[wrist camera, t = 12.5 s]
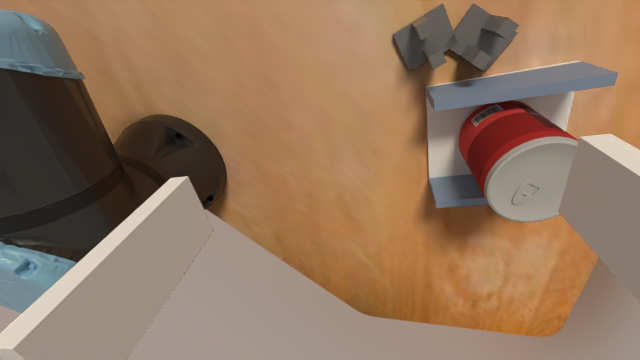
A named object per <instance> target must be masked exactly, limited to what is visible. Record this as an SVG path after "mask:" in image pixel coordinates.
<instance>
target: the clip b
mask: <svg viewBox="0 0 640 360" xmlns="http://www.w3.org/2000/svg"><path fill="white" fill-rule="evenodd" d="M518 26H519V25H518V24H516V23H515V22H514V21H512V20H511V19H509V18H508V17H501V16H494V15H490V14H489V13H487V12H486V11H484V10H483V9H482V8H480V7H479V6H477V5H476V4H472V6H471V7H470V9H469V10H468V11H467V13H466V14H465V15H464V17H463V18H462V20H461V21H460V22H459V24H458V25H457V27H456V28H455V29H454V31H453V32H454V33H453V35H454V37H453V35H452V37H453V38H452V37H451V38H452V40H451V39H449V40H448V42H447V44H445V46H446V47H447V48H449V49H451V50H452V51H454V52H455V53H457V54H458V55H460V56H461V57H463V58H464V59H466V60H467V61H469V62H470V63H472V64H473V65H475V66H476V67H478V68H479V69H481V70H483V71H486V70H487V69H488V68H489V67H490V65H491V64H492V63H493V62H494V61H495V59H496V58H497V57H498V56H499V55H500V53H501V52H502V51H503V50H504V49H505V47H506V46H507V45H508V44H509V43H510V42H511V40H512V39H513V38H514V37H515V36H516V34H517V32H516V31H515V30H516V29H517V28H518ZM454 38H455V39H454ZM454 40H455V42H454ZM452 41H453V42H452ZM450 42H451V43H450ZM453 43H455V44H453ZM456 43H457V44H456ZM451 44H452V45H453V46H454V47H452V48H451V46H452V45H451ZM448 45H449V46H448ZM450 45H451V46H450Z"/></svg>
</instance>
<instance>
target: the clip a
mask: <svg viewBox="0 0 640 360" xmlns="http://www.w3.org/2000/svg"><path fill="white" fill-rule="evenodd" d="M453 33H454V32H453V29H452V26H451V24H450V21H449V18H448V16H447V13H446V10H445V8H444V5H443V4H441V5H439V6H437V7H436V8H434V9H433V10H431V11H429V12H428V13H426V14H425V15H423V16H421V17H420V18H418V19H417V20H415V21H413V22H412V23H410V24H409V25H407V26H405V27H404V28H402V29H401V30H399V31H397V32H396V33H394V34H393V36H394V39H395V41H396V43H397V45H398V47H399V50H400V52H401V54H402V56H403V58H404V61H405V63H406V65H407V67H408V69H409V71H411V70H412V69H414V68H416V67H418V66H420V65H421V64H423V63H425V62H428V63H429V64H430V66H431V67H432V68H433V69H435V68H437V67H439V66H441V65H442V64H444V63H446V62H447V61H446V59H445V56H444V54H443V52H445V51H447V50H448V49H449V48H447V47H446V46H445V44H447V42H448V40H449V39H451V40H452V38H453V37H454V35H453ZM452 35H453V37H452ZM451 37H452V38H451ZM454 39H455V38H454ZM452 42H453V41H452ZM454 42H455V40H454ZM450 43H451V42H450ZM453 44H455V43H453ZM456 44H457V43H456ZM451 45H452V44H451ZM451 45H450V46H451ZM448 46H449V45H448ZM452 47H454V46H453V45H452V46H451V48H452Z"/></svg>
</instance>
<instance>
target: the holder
mask: <svg viewBox="0 0 640 360" xmlns="http://www.w3.org/2000/svg"><path fill="white" fill-rule="evenodd" d="M617 75H618V73H617V72H614V71H611V70H608V69H604V68H601V67H598V66H595V65H591V64H588V63H585V62H582V61H573V62H567V63H561V64H555V65H549V66H543V67H537V68H531V69H525V70H519V71H513V72H507V73H501V74H495V75H489V76H483V77H477V78H471V79H465V80H459V81H454V82H448V83H442V84H436V85H430V86H426V107H427V140H428V172H429V185H430V188H431V192H432V196H433V199H434V203H435V206H436V208H447V207H462V206H477V205H489V204H488V202H487V200H486V199H485V197H484V195H483V194H482V192H481V190H480V188H479V186H478V184H477V182H476V180H475V179H474V177H473V175H472V173H471V171H470V169H469V167H468V165H467V164H466V162H465V160H464V158H463V156H462V154H461V152H460V149H459V141H458V140H459V135H460V130H461V128H462V125H463V124H464V122H465V121H466V119H467V118H468V117H469V116H470V115H471V114H472V113H473V112H474V111H475V110H477V109H478V108H480V107H481V106H483V105H485V104H489V103H496V102H503V101H510V100H515V101H520V102H522V103H525V104H526V105H528V106H529V107H531V108H532V109H534V110H535V111H536V112H538V113H539V114H541V115H542V116H544V117H545V118H547V119H548V120H550V121H551V122H552V123H554V124H555V125H557V126H558V127H560V128H561V129H563V130H564V131H566V129H567V124H568V120H569V115H570V111H571V106H572V102H573V97H574V93H575V91H578V90H585V89H592V88H599V87H606V86H612V85H615V82H616V78H617Z"/></svg>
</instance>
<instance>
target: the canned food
mask: <svg viewBox="0 0 640 360" xmlns="http://www.w3.org/2000/svg"><path fill="white" fill-rule="evenodd" d="M458 141H459V149H460V152H461V154H462V156H463V158H464V160H465V162H466V164H467V165H468V167H469V169H470V171H471V173H472V175H473V177H474V179H475V180H476V182H477V184H478V186H479V188H480V190H481V192H482V194H483V195H484V197H485V199H486V200H487V202H488V204H489V205H490V206H491V208H492V209H493V210H494V211H495V212H496V213H497V214H499V215H500V216H502V217H503V218H506V219H509V220H512V221H518V222H536V221H542V220H546V219H550V218H553V217H556V216H558V215H561V214H560V213H559V212H558V210H559V206H560V203H561V199H562V196H563V193H564V189H565V186H566V182H567V179H568V175H569V172H570V168H571V165H572V162H573V158H574V155H575V151H576V148H577V144H578V140H577V139H576V138H574V137H573V136H571V135H570V134H568V133H567V132H566V131H564V130H563V129H561V128H560V127H558V126H557V125H555V124H554V123H552V122H551V121H550V120H548V119H547V118H545V117H544V116H542V115H541V114H539V113H538V112H536V111H535V110H534V109H532V108H531V107H529V106H528V105H526V104H525V103H522V102H520V101H515V100H510V101H503V102H496V103H489V104H485V105H483V106H481V107H480V108H478V109H477V110H475V111H474V112H473V113H472V114H471V115H470V116H469V117H468V118H467V119H466V121H465V122H464V124H463V125H462V128H461V130H460V135H459V140H458Z"/></svg>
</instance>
